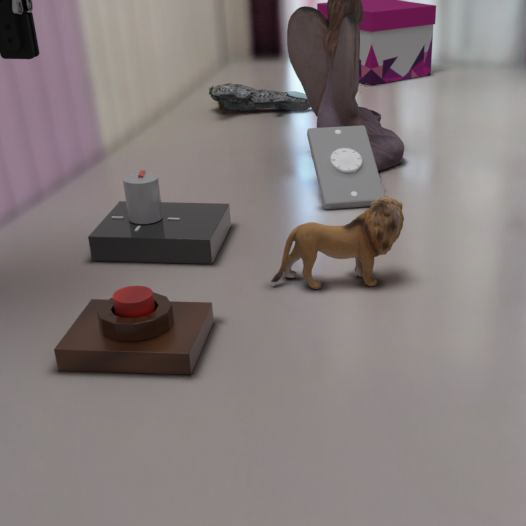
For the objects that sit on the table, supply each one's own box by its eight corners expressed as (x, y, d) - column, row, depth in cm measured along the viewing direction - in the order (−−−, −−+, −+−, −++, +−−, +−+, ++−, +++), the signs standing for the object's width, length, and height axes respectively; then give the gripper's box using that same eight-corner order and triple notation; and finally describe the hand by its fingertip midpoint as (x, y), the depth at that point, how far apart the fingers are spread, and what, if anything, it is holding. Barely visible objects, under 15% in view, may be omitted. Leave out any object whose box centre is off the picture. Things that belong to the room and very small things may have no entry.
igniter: (58, 370, 71) (49, 331, 69) (94, 318, 80) (88, 282, 78) (191, 374, 71) (187, 335, 69) (213, 322, 79) (210, 285, 77)
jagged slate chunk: (314, 115, 147) (316, 84, 146) (205, 108, 145) (205, 77, 144) (310, 118, 163) (311, 91, 162) (212, 113, 161) (212, 85, 160)
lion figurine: (394, 264, 92) (396, 188, 87) (408, 283, 87) (412, 204, 83) (267, 277, 88) (263, 199, 84) (275, 297, 84) (272, 216, 80)
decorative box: (378, 63, 198) (380, -3, 191) (432, 75, 186) (436, 5, 178) (318, 72, 188) (317, 3, 180) (370, 85, 175) (372, 12, 168)
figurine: (419, 169, 123) (428, -8, 110) (331, 181, 118) (329, -3, 105) (369, 140, 137) (372, -20, 124) (288, 150, 132) (283, -16, 119)
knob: (160, 224, 94) (154, 180, 91) (125, 224, 94) (119, 180, 91) (164, 212, 97) (159, 169, 95) (131, 212, 97) (125, 170, 94)
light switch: (325, 199, 106) (307, 122, 113) (321, 228, 111) (305, 153, 118) (387, 195, 107) (366, 119, 115) (381, 224, 112) (361, 150, 120)
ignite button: (109, 319, 72) (107, 302, 71) (121, 301, 75) (119, 284, 74) (149, 320, 72) (146, 303, 71) (159, 302, 75) (157, 285, 74)
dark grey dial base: (91, 261, 92) (87, 235, 90) (122, 223, 102) (119, 199, 101) (212, 264, 91) (209, 238, 90) (231, 226, 102) (229, 202, 100)
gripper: (-19, -175, 61) (27, 73, 71) (53, -164, 74) (85, 45, 83) (-114, -175, 62) (-56, 72, 71) (-26, -164, 75) (14, 44, 84)
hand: (20, 57), depth 77 cm, fingers closed
